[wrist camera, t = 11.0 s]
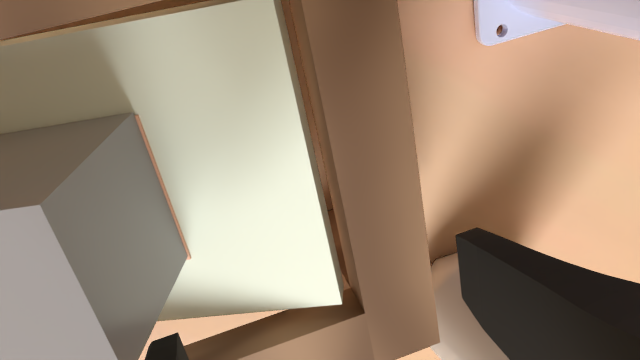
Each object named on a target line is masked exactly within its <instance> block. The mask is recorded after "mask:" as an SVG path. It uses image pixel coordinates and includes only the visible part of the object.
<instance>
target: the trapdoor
mask: <svg viewBox="0 0 640 360" xmlns="http://www.w3.org/2000/svg"><path fill="white" fill-rule="evenodd" d="M129 112H133V113H134V115H135V118H136V121H137V123H138V126H139V129H140V131H141V134H142V136H143V139H144V142H145V144H146V147H147V150H148V152H149V155H150V158H151V160H152V163H153V165H154V168H155V171H156V173H157V176H158V179H159V181H160V184H161V187H162V189H163V192H164V194H165V197H166V200H167V202H168V205H169V208H170V210H171V213H172V216H173V218H174V221H175V223H176V226H177V229H178V231H179V234H180V237H181V239H182V242H183V245H184V247H185V250H186V252H187V255H188V257H187V259H186V261H185V263H184V265H183V267H182V269H181V272H180V274H179V276H178V278H177V280H176V282H175V284H174V286H173V288H172V290H171V292H170V294H169V296H168V299H167V301H166V303H165V305H164V307H163V309H162V311H161V313H160V315H159V317H158V319H157V321H165V320H176V319H187V318H198V317H209V316H220V315H231V314H242V313H253V312H264V311H274V310H285V309H296V308H307V307H318V306H329V305H340V304H342V301H343V288H344V284H343V279H342V275H341V270H340V266H339V261H338V257H337V252H336V247H335V243H334V238H333V234H332V229H331V225H330V220H329V216H328V211H327V207H326V202H325V198H324V193H323V189H322V184H321V179H320V175H319V170H318V166H317V161H316V157H315V152H314V148H313V143H312V139H311V134H310V130H309V125H308V121H307V116H306V112H305V107H304V102H303V98H302V93H301V89H300V84H299V80H298V75H297V71H296V66H295V62H294V57H293V53H292V48H291V44H290V39H289V35H288V30H287V25H286V21H285V16H284V12H283V7H282V3H281V0H210V1H205V2H200V3H195V4H189V5H184V6H179V7H174V8H169V9H163V10H158V11H153V12H148V13H143V14H137V15H132V16H127V17H122V18H117V19H112V20H106V21H101V22H96V23H91V24H86V25H80V26H75V27H70V28H65V29H60V30H54V31H49V32H44V33H39V34H34V35H29V36H23V37H18V38H13V39H8V40H3V41H0V134H5V133H10V132H16V131H22V130H28V129H34V128H40V127H46V126H52V125H58V124H64V123H70V122H76V121H82V120H88V119H94V118H100V117H106V116H112V115H118V114H123V113H129Z"/></svg>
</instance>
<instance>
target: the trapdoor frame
mask: <svg viewBox="0 0 640 360" xmlns="http://www.w3.org/2000/svg"><path fill="white" fill-rule="evenodd" d="M158 1H162V0H0V40H3V39H7V38H11V37H15V36H19V35H23V34H27V33H31V32H35V31H39V30H43V29H47V28H52V27H56V26H60V25H64V24H68V23H72V22H76V21H80V20H84V19H88V18H92V17H96V16H101V15H105V14H109V13H113V12H117V11H121V10H125V9H129V8H133V7H137V6H141V5H145V4H149V3H154V2H158ZM289 4H290V8H291V13H292V18H293V22H294V27H295V32H296V36H297V41H298V46H299V50H300V55H301V60H302V64H303V69H304V74H305V78H306V83H307V88H308V92H309V97H310V102H311V106H312V111H313V116H314V120H315V125H316V130H317V134H318V139H319V144H320V148H321V153H322V158H323V162H324V167H325V172H326V176H327V181H328V185H329V190H330V195H331V199H332V204H333V210H330V211H328V216H329V220H330V225H331V229H332V234H333V238H334V243H335V247H336V252H337V257H338V261H339V266H340V270H341V275H342V279H343V284H344V288H343V301H342V304H340V305H329V306H318V307H307V308H296V309H288V310H285V311H282V312H280V313H277V314H274V315H271V316H268V317H265V318H263V319H260V320H257V321H254V322H251V323H248V324H246V325H243V326H240V327H237V328H234V329H231V330H228V331H226V332H223V333H220V334H217V335H214V336H211V337H209V338H206V339H203V340H200V341H197V342H194V343H192V344H189V345H186V346H184V349H185V351H186V354H187V356H188V358H189V360H396V359H398V358H401V357H404V356H406V355H409V354H412V353H414V352H417V351H419V350H422V349H425V348H427V347H430V346H433V345H435V344H438V343H440V337H439V329H438V321H437V313H436V305H435V297H434V289H433V281H432V273H431V266H430V258H429V250H428V242H427V234H426V226H425V218H424V210H423V202H422V194H421V187H420V179H419V171H418V163H417V155H416V147H415V139H414V131H413V123H412V115H411V108H410V100H409V92H408V84H407V76H406V68H405V60H404V52H403V44H402V36H401V29H400V21H399V13H398V5H397V0H289Z"/></svg>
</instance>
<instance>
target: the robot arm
mask: <svg viewBox="0 0 640 360" xmlns="http://www.w3.org/2000/svg"><path fill="white" fill-rule="evenodd" d="M474 14H475V29H476V38H477V40H478V42H479V43H481V44H483V45H486V46H491V45H495V44H498V43H502V42H505V41H509V40H512V39H516V38H519V37H523V36H526V35H530V34H533V33H537V32H540V31H544V30H547V29H551V28H554V27H558V26H561V25H565V24H570V25H574V26H579V27H583V28H587V29H592V30H596V31H600V32H605V33H609V34H613V35H618V36H622V37H626V38H631V39H635V40H639V41H640V0H474ZM500 25H502V31H501V33H500V34H499V35H497V33H496V31H497V28H498V27H499V26H500ZM456 244H457V254H458V264H459V274H460V284H461V294H462V299H463V300H464V302H465V303H466V305H467V306H468V308H469V309H470V311H471V312H472V314H473V315H474V317H475V318H476V320H477V321H478V323H479V324H480V326H481V327H482V328H483V330H484V331H485V332H486V333H487V334H488V336H489V337H490V338H491V339H492V340H493V341H494V343H495V344H496V345H497V346H498V347H499V348H500V349H501V351H502V352H503V353H504V354H505V355H506V356H507V357H508V358H509V360H640V284H639V283H635V282H631V281H627V280H623V279H620V278H616V277H612V276H608V275H605V274H601V273H598V272H594V271H591V270H588V269H585V268H582V267H579V266H576V265H573V264H570V263H567V262H564V261H562V260H559V259H556V258H553V257H551V256H548V255H545V254H543V253H540V252H538V251H535V250H532V249H530V248H527V247H525V246H522V245H520V244H518V243H515V242H513V241H510V240H508V239H505V238H503V237H500V236H498V235H495V234H493V233H490V232H488V231H485V230H482V229H480V228H475V229H472V230H469V231H466V232H463V233H460V234H457V235H456ZM145 360H189V358H188V356H187V354H186V351H185V349H184V346H183V344H182V342H181V339H180V337H179V334H178V333H175V334H172V335H169V336H167V337H164V338H161V339H158V340H155V341H152V342H151V344H150V346H149V348H148V351H147V354H146V358H145Z"/></svg>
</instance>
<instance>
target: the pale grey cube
mask: <svg viewBox="0 0 640 360" xmlns="http://www.w3.org/2000/svg"><path fill="white" fill-rule="evenodd" d="M187 257H188V255H187V252H186V250H185V247H184V245H183V242H182V239H181V237H180V234H179V231H178V229H177V226H176V223H175V221H174V218H173V216H172V213H171V210H170V208H169V205H168V202H167V200H166V197H165V194H164V192H163V189H162V187H161V184H160V181H159V179H158V176H157V173H156V171H155V168H154V165H153V163H152V160H151V158H150V155H149V152H148V150H147V147H146V144H145V142H144V139H143V136H142V134H141V131H140V129H139V126H138V123H137V121H136V118H135V115H134V113H133V112H129V113H123V114H118V115H112V116H106V117H100V118H94V119H88V120H82V121H76V122H70V123H64V124H58V125H52V126H46V127H40V128H34V129H28V130H22V131H16V132H10V133H5V134H0V360H138V359H139V357H140V355H141V353H142V351H143V348H144V346H145V344H146V342H147V340H148V338H149V336H150V334H151V332H152V330H153V328H154V326H155V324H156V321H157V319H158V317H159V315H160V313H161V311H162V309H163V307H164V305H165V303H166V301H167V299H168V296H169V294H170V292H171V290H172V288H173V286H174V284H175V282H176V280H177V278H178V276H179V274H180V272H181V269H182V267H183V265H184V263H185V261H186V259H187Z"/></svg>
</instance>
